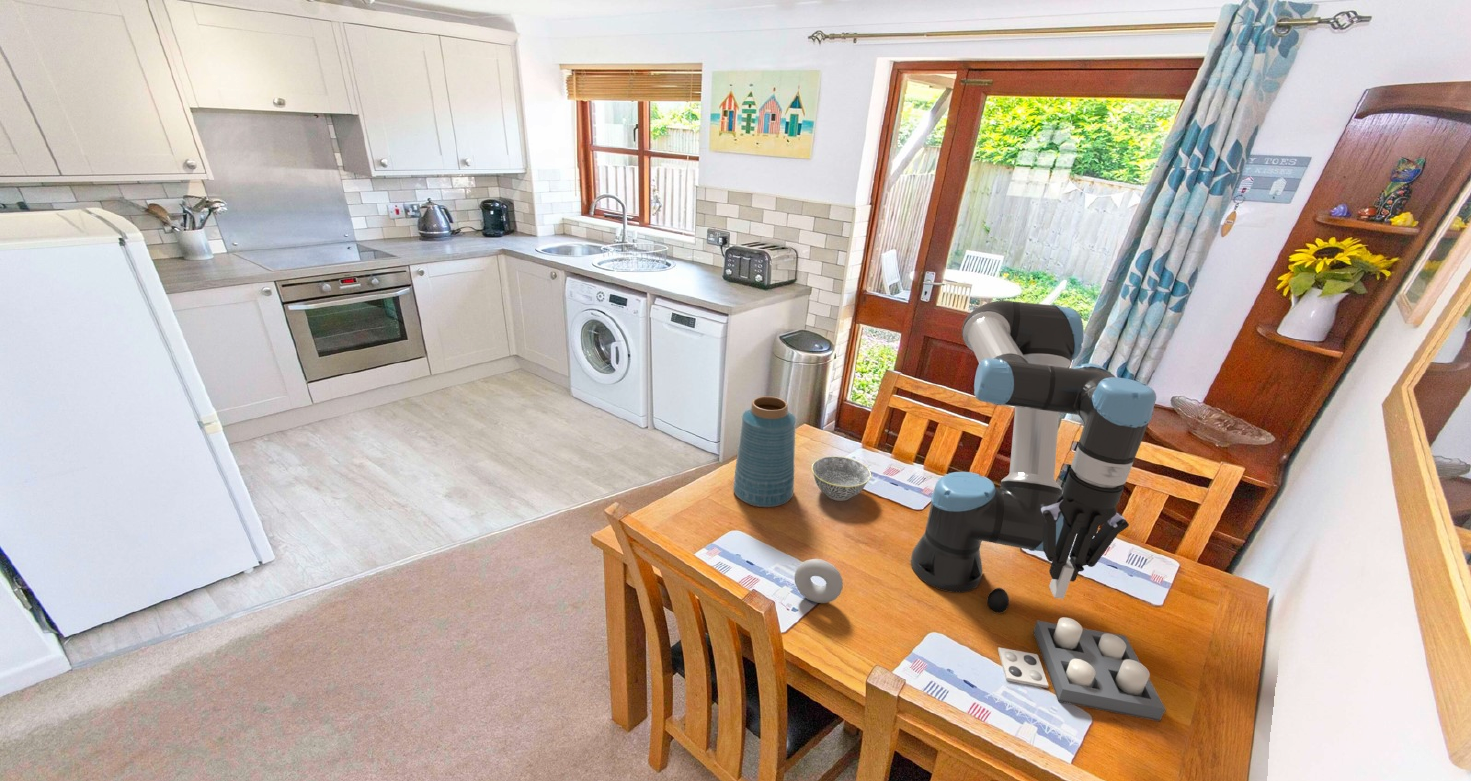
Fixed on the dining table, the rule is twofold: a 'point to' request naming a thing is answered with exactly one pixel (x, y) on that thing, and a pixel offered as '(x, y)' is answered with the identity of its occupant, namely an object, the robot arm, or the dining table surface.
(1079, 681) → the button
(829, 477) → the bowl
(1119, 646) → the button
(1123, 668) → the button
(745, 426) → the vase
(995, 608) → the egg
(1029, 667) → the card
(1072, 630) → the button
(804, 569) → the donut
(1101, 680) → the board
